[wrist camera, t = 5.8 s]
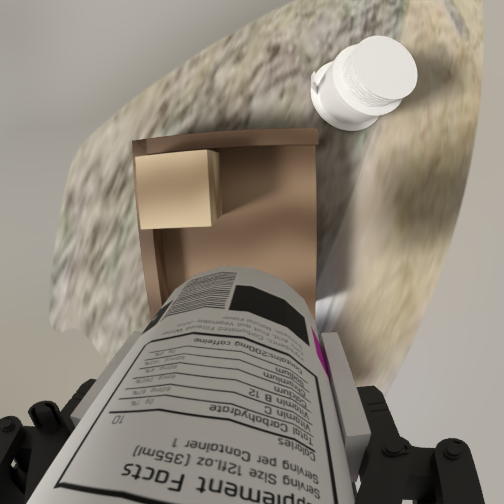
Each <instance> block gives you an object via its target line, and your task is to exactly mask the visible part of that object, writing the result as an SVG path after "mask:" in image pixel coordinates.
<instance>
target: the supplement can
mask: <svg viewBox="0 0 504 504" xmlns="http://www.w3.org/2000/svg"><path fill="white" fill-rule="evenodd" d="M354 503H355V499H354V494H353V489H352V483H351V478H350V473H349V468H348V463H347V458H346V453H345V449H344V444H343V439H342V434H341V430H340V425H339V420H338V416H337V411H336V407H335V402H334V398H333V394H332V389H331V385H330V381H329V376H328V372H327V368H326V364H325V360H324V356H323V351H322V347H321V343H320V339H319V335H318V331H317V327H316V323H315V321H314V319H313V317H312V315H311V313H310V311H309V309H308V306H307V304H306V302H305V300H304V299H303V298H302V297H301V296H300V295H299V294H298V293H297V292H296V291H295V290H293V289H292V288H291V287H290V286H289V285H288V284H287V283H286V282H285V281H284V280H282V279H280V278H277V277H275V276H273V275H270V274H268V273H266V272H263V271H261V270H258V269H256V268H248V267H233V266H222V267H219V268H215V269H211V270H208V271H204V272H200V273H197V274H195V275H194V276H193V277H191V278H190V279H188V280H187V281H186V282H184V283H183V284H182V285H180V286H179V287H178V288H176V289H175V290H174V291H173V293H172V294H171V295H170V297H169V298H168V299H167V301H166V302H165V303H164V305H163V306H162V307H161V309H160V310H159V311H158V313H157V314H156V315H155V317H154V318H153V320H152V321H151V322H150V324H149V325H148V326H147V328H146V329H145V330H144V332H143V333H142V334H141V336H140V337H139V339H138V340H137V341H136V343H135V344H134V345H133V347H132V348H131V350H130V351H129V352H128V354H127V355H126V356H125V358H124V359H123V361H122V362H121V363H120V365H119V366H118V368H117V369H116V370H115V372H114V373H113V375H112V376H111V377H110V379H109V380H108V382H107V383H106V385H105V386H104V387H103V389H102V390H101V392H100V393H99V395H98V396H97V397H96V399H95V400H94V402H93V403H92V405H91V406H90V408H89V409H88V410H87V412H86V413H85V415H84V416H83V418H82V419H81V421H80V422H79V424H78V425H77V427H76V428H75V430H74V431H73V432H72V434H71V435H70V437H69V438H68V440H67V441H66V443H65V444H64V446H63V447H62V449H61V450H60V452H59V454H58V455H57V457H56V458H55V460H54V461H53V463H52V464H51V466H50V467H49V469H48V470H47V472H46V473H45V475H44V477H43V478H42V480H41V481H40V483H39V484H38V486H37V488H36V489H35V491H34V492H33V494H32V496H31V497H30V499H29V500H28V502H27V504H354Z"/></svg>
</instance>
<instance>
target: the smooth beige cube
mask: <svg viewBox="0 0 504 504" xmlns="http://www.w3.org/2000/svg"><path fill="white" fill-rule="evenodd" d="M135 162H136V179H137V193H138V206H139V217H140V227H141V229H160V228H182V227H207V226H212V225H213V224H214V223H215V222H216V221H217V220H218V219H219V218H220V217H221V216H222V197H221V177H220V156H219V153H218V152H214V151H211V150H196V151H184V152H174V153H164V154H155V155H147V156H139V157H135Z"/></svg>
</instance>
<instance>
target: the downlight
mask: <svg viewBox="0 0 504 504" xmlns="http://www.w3.org/2000/svg"><path fill="white" fill-rule="evenodd" d="M416 83H417V67H416V64H415V61H414V59H413V57H412V56H411V54H410V53H409V52H408V50H407V49H406V48H405V47H404V46H403V45H401V44H400V43H399V42H397V41H395V40H393V39H391V38H388V37H384V36H372V37H368V38H366V39H364V40H363V41H361V42H360V43H359V44H356V45H352V46H349V47H347V48H346V49H344V50H343V51H341V52H340V54H339V55H338V56H337V57H336V59H335V60H334V61H332V62H329V63H327V64H325V65H324V66H322V67H321V68H320V69H319V70H318V71H317V73H316V74H315V71H314V73H313V74H312V75H311V98H312V102H313V105H314V107H315V109H316V111H317V112H318V114H319V115H320V116H321V117H322V118H323V119H324V120H325V121H326V122H327V123H329V124H330V125H332V126H334V127H336V128H338V129H341V130H346V131H358V130H362V129H365V128H367V127H369V126H371V125H372V124H373V123H374V122H375V121H376V120H377V119H378V117H379V116H381V115H384V114H387V113H389V112H391V111H393V110H394V109H395V108H396V107H397V106H398V105H399V104H400V102H401V101H402V99H403V97H406V96H407V95H409V94H410V93H411V92H412V91H413V89H414V88H415V86H416Z"/></svg>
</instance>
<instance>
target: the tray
mask: <svg viewBox="0 0 504 504" xmlns="http://www.w3.org/2000/svg"><path fill="white" fill-rule="evenodd" d="M318 144H319V139H318V128H276V129H249V130H231V131H216V132H204V133H193V134H183V135H173V136H165V137H157V138H149V139H142V140H135V141H132V146H133V167H134V183H135V196H136V208H137V219H138V229H139V238H140V247H141V255H142V263H143V270H144V277H145V284H146V291H147V297H148V304H149V310H150V316H151V321H152V320H153V318H154V317H155V315H156V314H157V313H158V311H159V310H160V309H161V307H162V306H163V305H164V303H165V302H166V301H167V299H168V298H169V297H170V295H171V294H172V293H173V291H174V290H175V289H176V288H178V287H179V286H180V285H182V284H183V283H184V282H186V281H187V280H188V279H190V278H191V277H193V276H194V275H195V274H197V273H200V272H204V271H208V270H211V269H215V268H219V267H222V266H233V267H248V268H256V269H258V270H261V271H263V272H266V273H268V274H270V275H273V276H275V277H277V278H280V279H282V280H284V281H285V282H286V283H287V284H288V285H289V286H290V287H291V288H292V289H293V290H295V291H296V292H297V293H298V294H299V295H300V296H301V297H302V298H303V299H304V300H305V302H306V304H307V306H308V309H309V311H310V313H311V315H312V317H313V319H314V321H315V303H316V259H317V199H316V156H315V146H316V145H318ZM196 150H211V151H214V152H218V153H219V156H220V177H221V197H222V216H221V217H220V218H219V219H218V220H217V221H216V222H215V223H214V224H213V225H212V226H207V227H182V228H160V229H141V227H140V217H139V206H138V193H137V179H136V162H135V157H139V156H147V155H155V154H164V153H174V152H184V151H196Z"/></svg>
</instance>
